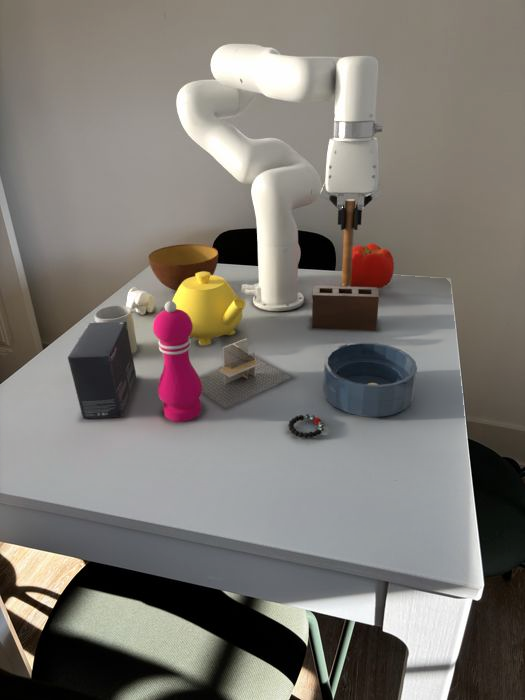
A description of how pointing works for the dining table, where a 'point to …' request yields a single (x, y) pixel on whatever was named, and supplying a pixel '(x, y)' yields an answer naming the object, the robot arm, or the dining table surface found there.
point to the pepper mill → (177, 365)
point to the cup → (118, 314)
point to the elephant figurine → (140, 301)
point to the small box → (103, 369)
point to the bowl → (182, 263)
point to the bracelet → (310, 434)
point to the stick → (348, 242)
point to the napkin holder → (240, 376)
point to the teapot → (209, 306)
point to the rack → (345, 308)
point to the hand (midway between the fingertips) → (349, 227)
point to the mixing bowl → (369, 379)
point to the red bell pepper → (371, 266)
